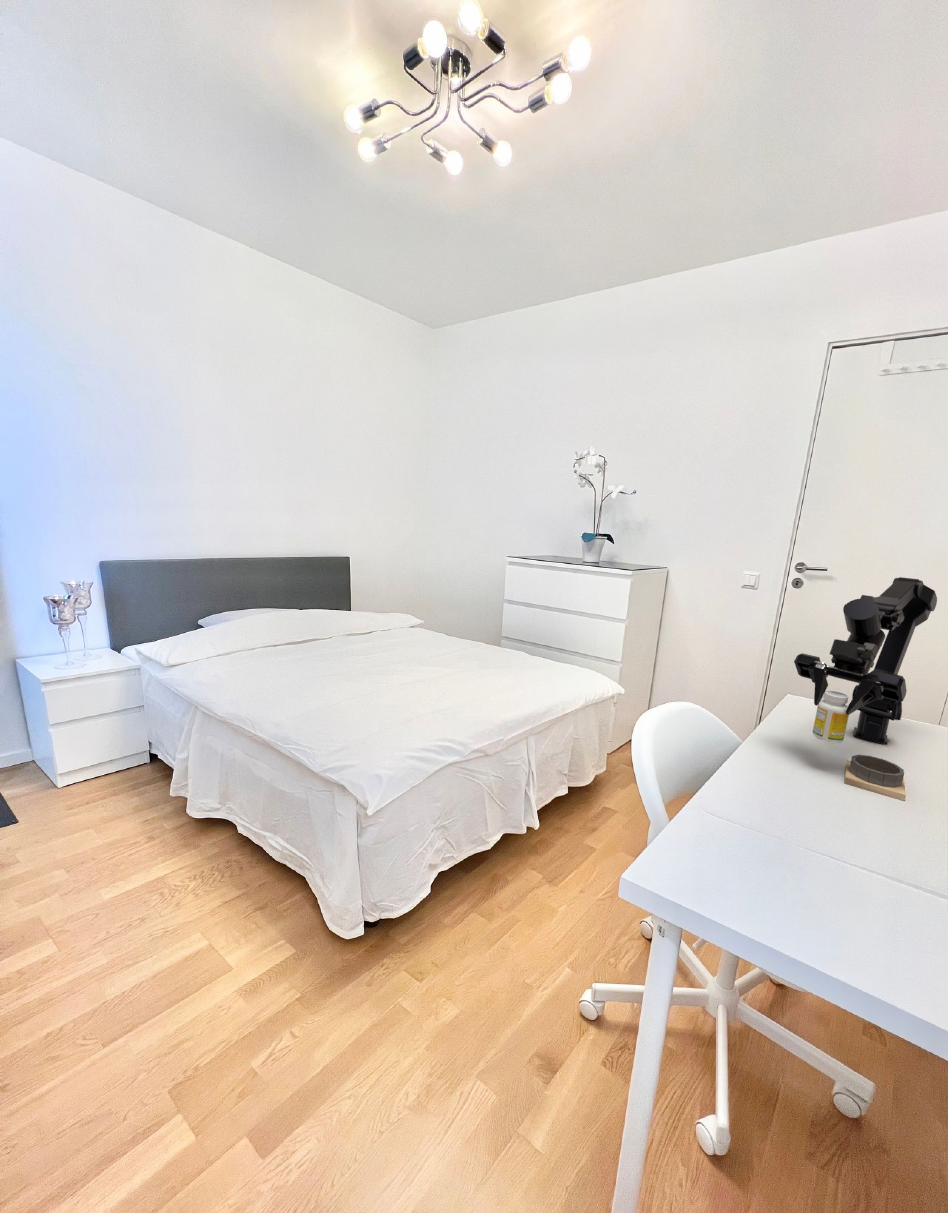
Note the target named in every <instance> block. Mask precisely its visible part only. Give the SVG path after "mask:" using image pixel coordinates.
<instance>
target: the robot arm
mask: <svg viewBox="0 0 948 1213" xmlns="http://www.w3.org/2000/svg"><path fill="white" fill-rule="evenodd" d="M937 603H938V597H937V594H936V591H935V590H934V589H932V588H931V587H928V586H927V585H925V584H924V582H923V580H920V579H918V578H910V577H901V576H900V577H895V578H894V579H893V581H892V584H891V585H890V586H888V587H887V588H886V589H885V590H884V591H883V592H882V593H881V594H880V595H879V596H873V595H866V594H861V596H860V598H855V599H853V600H850V601H849V602H847V603H845V604H844V606H843V607H842V608H843V610H842V611H843V616H844V620H845V621H844V622H845V625H846V630H847V632H849V633H850V634H849V635H848V638H847V640H843V639H836V638H835V639H833V643H832V646H831V648H830V651H829V655H831V657H832V658H831V663H832V664H833V666H831V665H827V663H825V662H822V661H821V658H820V656H816V655H811V654H807V653H803V652H802V653H798V655H796V657H795V659H794V660H793V663H794V665H795V668H796V672H797V675H799V676H800V677H802V678H805V679H810V680H811V682H812V684H813V683H814V694H813V695H814V696H813V697H814V698H813V704H814V706H817V707H818V703H819V702H820V701H822V699H823V698H824V693H825V691H827V689H828V686H829V682H828V679H827V678H828V677H833V678H836V679H840V680H844V681H848V682H851V683H852V682H853V683H857V684H856V685H855V686H854V688H853V690H852V694H851V696H852V697H851V698H852V699H851V701H850V702H849V704H848V705H847V706H848V708H847V710H846V714H847V715H849V716H850V715H851V714H853V713H854V712H856V711H858V712H859V715H858V721H857V726H855V727H853V737H855V738H858V739H862V740H866V741H870V742H873V743H878V744H882V745H888V743H889V740H888V735H887V733H888V729H889V723H890V720H891V721H894V722H895V721H901V720H902V716H903V715H902V714H903V703H902V702H904V700H905V698H906V695H907V684H906V679H905V678H904V676H903V675H899V672H900V669H901V667H902V664H903V662H904V658H905V656H906V653H907V650H908V648H909V645H910V644H911V643H910V642H911V640H912V637H913V634H914V633H915V629H916V628H917V626H920V625H921V624H923V623H924V622H926V621H927V620H928V618H929V617H930V614H931V612H934V611H935V609H936V608H937ZM885 630H886V631H887V634H885V632H884V631H885ZM880 649H881V650H880ZM878 653H879V655H878ZM877 655H878V658H877V660H876V657H877ZM875 660H876V663H875ZM872 668H873V670H871V671H870V669H872Z"/></svg>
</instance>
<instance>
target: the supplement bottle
mask: <svg viewBox="0 0 948 1213" xmlns="http://www.w3.org/2000/svg"><path fill="white" fill-rule="evenodd" d="M848 701H849V696H848V694H846V693H843V692H840V691H833V690H826V691H825V693H824V695H823V700H822V699H821V701H820V702H819V703H818V705H817V708H816V713H815V719H814V723H813V728H812V735H813V736H814V737H815V738H817V739H819V740H820V741H823V742H827V743H830V744H831V743H832V744H841V743H843V742H844V740H845V734H846V731H847V725H848V721H849V716H850V715H847V714H846V710H847V708H848V705H846V704H847V703H848Z"/></svg>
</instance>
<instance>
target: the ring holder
mask: <svg viewBox="0 0 948 1213" xmlns="http://www.w3.org/2000/svg"><path fill="white" fill-rule="evenodd" d="M845 763H846V764H845V771H844V772H845V773H844V774H845V775H844V784H846V785H849V786H852V787H856V788H859V789H863V790H865V791H870V792H874V793H877V794H880V795H883V796H887V797H890V798H894V799H897V800H901V801H904V802H905V800H906V797H907V793H906V791H907V790H906V786H905V778H904V777H905V776H904V775H905V770H904V769H903V768H902V767H901V766H899V765H898V764H896V763H893V762H891V761H889V760H886V759H883V758H879V757H876V756H873V755H866V754H856V755H852V756H851V758H850V760H849V759H847V760H846V762H845Z"/></svg>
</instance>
